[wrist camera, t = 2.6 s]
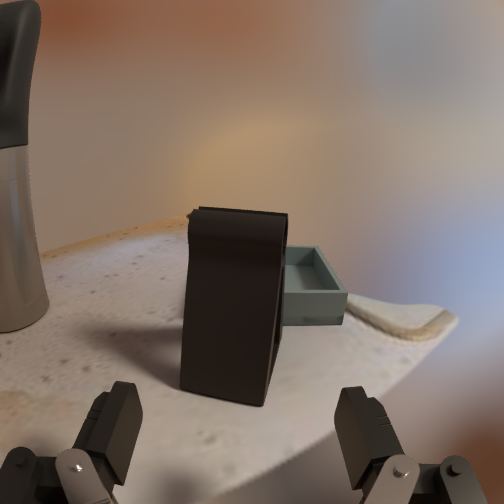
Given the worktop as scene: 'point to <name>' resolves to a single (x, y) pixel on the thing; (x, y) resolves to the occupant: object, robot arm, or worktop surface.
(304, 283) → the slate tray
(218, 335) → the phone stand
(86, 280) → the worktop surface
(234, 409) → the worktop surface
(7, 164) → the robot arm
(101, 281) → the worktop surface
